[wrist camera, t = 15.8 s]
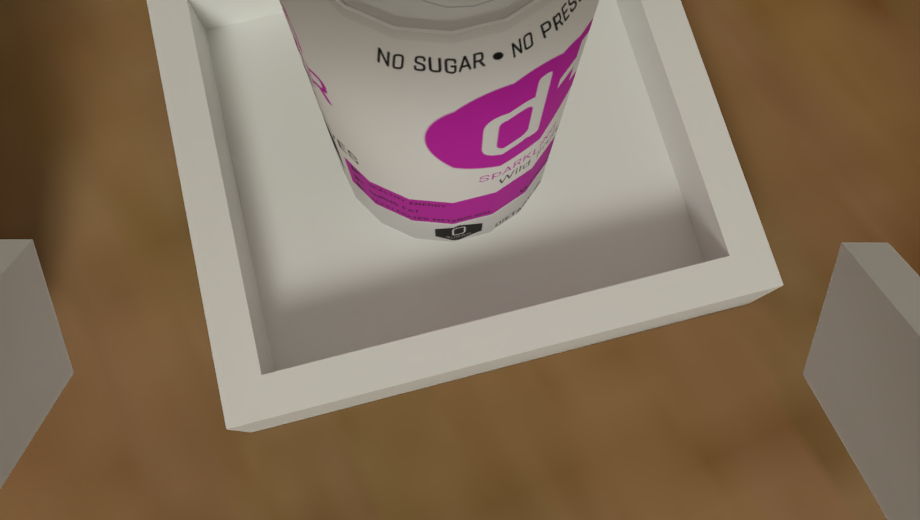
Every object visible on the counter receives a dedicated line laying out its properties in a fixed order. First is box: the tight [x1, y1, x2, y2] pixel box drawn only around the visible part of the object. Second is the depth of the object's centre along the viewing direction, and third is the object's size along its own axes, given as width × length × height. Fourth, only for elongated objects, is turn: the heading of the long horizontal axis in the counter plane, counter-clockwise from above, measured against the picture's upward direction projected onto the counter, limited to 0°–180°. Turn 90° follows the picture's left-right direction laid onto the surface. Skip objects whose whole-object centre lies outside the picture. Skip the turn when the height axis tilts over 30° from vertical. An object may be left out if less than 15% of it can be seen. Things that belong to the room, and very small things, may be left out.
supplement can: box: [279, 0, 599, 242], centre depth 25 cm, size 8×8×15 cm
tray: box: [147, 0, 783, 432], centre depth 32 cm, size 20×18×4 cm
